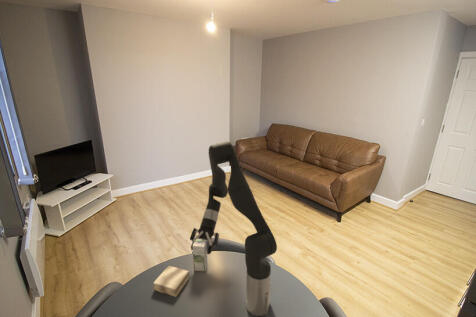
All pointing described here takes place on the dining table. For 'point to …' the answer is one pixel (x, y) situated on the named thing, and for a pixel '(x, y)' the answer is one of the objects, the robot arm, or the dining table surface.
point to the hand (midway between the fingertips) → (200, 252)
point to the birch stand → (171, 281)
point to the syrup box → (200, 255)
